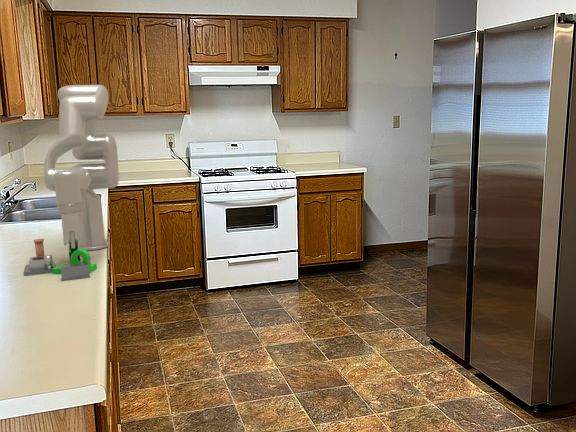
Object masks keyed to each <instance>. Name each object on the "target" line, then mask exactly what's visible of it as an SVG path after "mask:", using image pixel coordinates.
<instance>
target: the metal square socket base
mask: <svg viewBox="0 0 576 432" xmlns="http://www.w3.org/2000/svg"><path fill="white" fill-rule="evenodd" d="M53 260H54V259H53V255H52V254H47V255H45V256H40V257H36V256H33V257H32V256H31V257H30V258H29V261H28V264H25V267H24V269H23V277H25V276H26V277H28V276H34V275H35V276H36V275H42V274H51V273H52V269H53V268H55V267H56V261H53ZM52 274H53V273H52Z"/></svg>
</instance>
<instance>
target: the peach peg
mask: <svg viewBox="0 0 576 432" xmlns="http://www.w3.org/2000/svg"><path fill="white" fill-rule="evenodd" d="M44 240H45V239H44V238H36V239H33V240H32V241H33V243H34V248H35V255H36V256H35V257H40V256H46V255H45V246H44Z"/></svg>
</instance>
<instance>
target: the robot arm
mask: <svg viewBox="0 0 576 432" xmlns="http://www.w3.org/2000/svg"><path fill="white" fill-rule="evenodd" d="M108 91H109V90H108V89H107V87H106V86H105V85H102V84H73V85H63V86H61V88H58V91H57V97H58V101H59V108H58V109H59V114H58V115H59V116H58V117H59V119H58V126H59V128H58V132H59V133H58V139H57V140H56V141H55V142H54V144H53V145H52V146H51V147H50V148H49V149H48V151H47V153H46V155H45V158H44V168H43V169H44V170H43V171H44V172H43V173H44V174H43V178H44V185H45V188H47V189H48V190H49V191H51V192H55V199H56V200H55V201H56V209H57V211H56V212H57V215H59V216H61V231H62V237H63V238H62V239H63V245H64V246H67V245H68V249H69V251H68V256H69V264H71V259H70V257H71V254H72V253H73V252H74V251H76V250H78V249H84V250H86V251H87V252H88V251H95V250H96V251H97V250H103V249H105V248H108V247H110V241H108V240H106V238H105V236H106V235H105V227H104V216H103V205H102V199H101V197H100V196H99V195H98V193H97V192H96V191H94V190H100V189H101V190H102V189H114V188H116V187H118V185H119V182H120V171H119V159H118V157H119V156H118V147H117V141H116V139H115V137H114V135H112V134H110V133H96V130H95V129H96V128H95V126H96V125H95V121H96V120H102V119H103V118H104V116H105V115H106V111H107V108H108V105H109V100H110V99H109V93H108ZM70 151H71V152H72V156H73V158H74V159H76V160H79V161H93V160H94V161H95V160H96V161H98V160H102V161H104V162H102V163H101V162H100V163H98V162H96V163H94V162H93V163H90V162H89V163H79V164H75V165H73V166H72V167H57V168H56V164H57V161H58V160H59V158H60V157H62V156H63V155H64V154H66V153H68V152H70ZM78 260H79V261H80V262H82V261H81V256H80V255H78Z"/></svg>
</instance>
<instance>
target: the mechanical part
mask: <svg viewBox="0 0 576 432" xmlns="http://www.w3.org/2000/svg"><path fill="white" fill-rule="evenodd" d="M78 255H80V257H81V258H82V261H81V260H80V261H81V262H80V261H79V260H78ZM70 259H71V264H80V263H88V264H89V274H90V275H91V273H93V272H95V271H96V270H97V269H98V266H97V263H91V256H90V253H89V252H88V251H86V250H84V249H78V250H76V251H74V252H73V253H72V254H71V257H69V260H70ZM71 264H70V263H63V264H59V265H55V268H53V269H52V275H61V266H63V265H71Z"/></svg>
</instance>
